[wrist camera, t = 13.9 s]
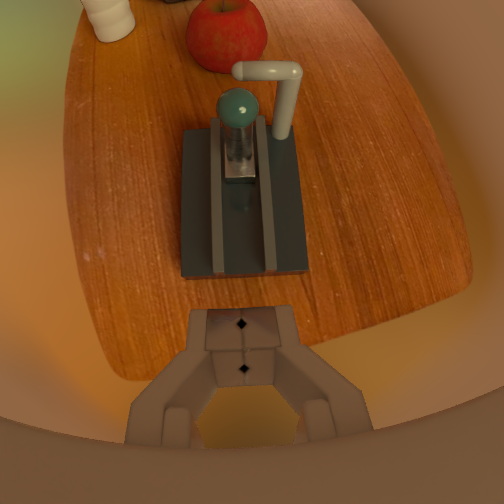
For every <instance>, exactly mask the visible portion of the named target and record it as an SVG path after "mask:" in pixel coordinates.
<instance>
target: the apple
mask: <svg viewBox="0 0 504 504" xmlns="http://www.w3.org/2000/svg"><path fill="white" fill-rule="evenodd" d="M186 43H187V46H188V49H189V52H190V54H191V55H192V56H193V58H194V59H195V60H196V61H197V62H198V63H199V65H200V66H202V67H203V68H205V69H207V70H209V71H213V72H218V73H223V74H231V69H232V66H233V65H234V64H235V63H236V62H239V61H256V60H259V58H260V56H261V55H262V53H263V51H264V49H265V47H266V45H267V30H266V27H265V23H264V20H263V18H262V16H261V14H260V12H259V10H258V9H257V8H256V6H255V5H254V4H253V3H252V2H251V1H249V0H203V1H202V2H201V3H200V4H199V5H198V6H197V7H196V8H195V9H194V10H193V12H192V14H191V16H190V20H189V23H188V27H187V32H186Z"/></svg>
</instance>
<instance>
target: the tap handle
mask: <svg viewBox="0 0 504 504" xmlns="http://www.w3.org/2000/svg"><path fill="white" fill-rule="evenodd" d="M216 112H217V116H218V118H219V119H220V121H221V122H222V123H223V128H224V136H225V143H224V156H225V180H226V184H235V183H255V161H254V146H253V122H254V121H255V119H256V118H257V116H258V113H259V103H258V100H257V98H256V96H255V95H254V94H253V93H252V92H250V91H249V90H247V89H244V88H232V89H229V90H227V91H225V92H224V93H223V94H222V95H221V96H220V97H219V99H218V101H217V104H216Z"/></svg>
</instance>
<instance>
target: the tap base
mask: <svg viewBox="0 0 504 504" xmlns="http://www.w3.org/2000/svg"><path fill="white" fill-rule="evenodd" d="M231 74H232V76H233V77H234V78H235V79H236V80H238V81H277V88H276V96H275V104H274V111H273V119H272V125H265V116H264V115H258V116H257V118H256V119H255V126H253V146H254V161H255V183H235V184H226V180H225V156H224V143H225V136H224V128H223V127H221V121H220V119H219V118H218V117H216V118H211V128H205V129H193V130H184V131H183V152H182V181H181V276H182V277H183V278H185V279H186V280H202V279H224V278H245V277H263V276H281V275H298V274H304V273H305V272H307V271H308V270H309V269H308V257H307V246H306V235H305V225H304V215H303V205H302V196H301V187H300V179H299V170H298V162H297V155H296V147H295V139H294V132H293V126H292V125H291V124H292V120H293V115H294V111H295V106H296V102H297V98H298V93H299V89H300V85H301V80H302V76H303V71H302V68H301V66H300V65H299V64H298V63H297V62H295V61H283V60H256V61H239V62H236V63H235V64H234V65H233V66H232V69H231Z"/></svg>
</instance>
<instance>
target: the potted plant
mask: <svg viewBox="0 0 504 504" xmlns="http://www.w3.org/2000/svg"><path fill="white" fill-rule="evenodd" d="M164 1H165V2H166V3H170V2H176V1H182V0H164Z"/></svg>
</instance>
